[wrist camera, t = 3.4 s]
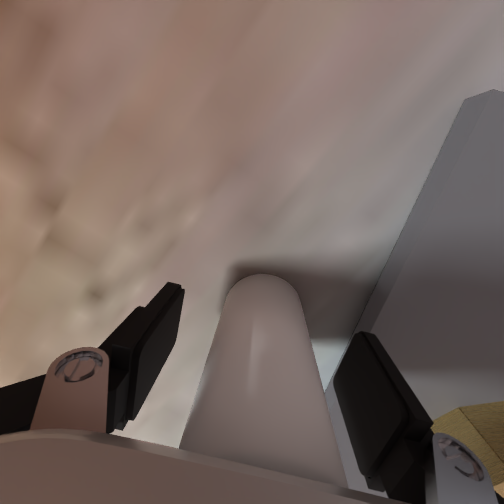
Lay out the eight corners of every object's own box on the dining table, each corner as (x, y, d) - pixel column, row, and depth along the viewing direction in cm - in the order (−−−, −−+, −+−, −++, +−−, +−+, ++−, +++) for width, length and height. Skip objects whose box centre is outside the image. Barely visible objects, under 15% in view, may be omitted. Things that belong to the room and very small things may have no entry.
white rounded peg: (234, 265, 12) (177, 431, 4) (311, 285, 12) (389, 482, 4) (218, 330, 13) (153, 545, 6) (288, 347, 13) (316, 581, 6)
